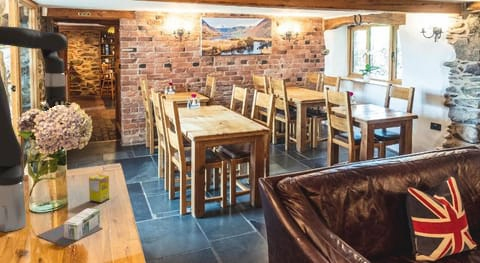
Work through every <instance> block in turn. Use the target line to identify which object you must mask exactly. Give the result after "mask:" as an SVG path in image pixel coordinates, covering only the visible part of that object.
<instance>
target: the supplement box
mask: <svg viewBox="0 0 480 263" xmlns="http://www.w3.org/2000/svg"><path fill="white" fill-rule="evenodd" d="M109 178H110V176H109V175H106V174H105V175H104V174H99V173H97V174H94V175H92V176H90V177H89V178H88V188H89V202H90V203H96V204H104V203H106V202H107V201H109V200H110V179H109Z"/></svg>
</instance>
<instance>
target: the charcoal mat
mask: <svg viewBox="0 0 480 263" xmlns="http://www.w3.org/2000/svg"><path fill="white" fill-rule="evenodd" d="M101 230H103V227H100V226H99V225H98V226H96V227H95V228H93V229H92V230H90V231H89V232H88V233H86V234H85V235H84V236H82V237H81V238H80V239H78V240H74V239H69V238H64V224H61V225H59V226H57V227H54V228H52V229H49V230H47V231H44V232H42V233H40V234H37V235H36V236H37V237H38V238H41V239H44V240H46V241H48V242H51V243H53V244H56V245H58V246H61V247H64V248H65V247H67V246H69V245H71V244H73V243H76V242H77V241H80V240H82V239H83V238H86V237H88V236H90V235H92V234H94V233H97V232H99V231H101Z"/></svg>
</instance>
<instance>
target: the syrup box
mask: <svg viewBox="0 0 480 263" xmlns="http://www.w3.org/2000/svg"><path fill="white" fill-rule="evenodd" d="M63 224H64V238H69V239H74V240H78V239H80V238H81V237H82V236H84V235H85V234H86V233H88V232H89V231H90V230H92V229H93V228H95V227H96V226H98V227H99V225H101V210H100V209H94V208H88V207H87V208H85V209H83V210H81V212H79V213H77V214H76V215H74V216H73V217H71V218H69V219H68V220H66V221H65V222H63ZM63 224H62V225H63ZM80 240H81V239H80ZM78 241H79V240H78Z"/></svg>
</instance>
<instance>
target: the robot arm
mask: <svg viewBox="0 0 480 263" xmlns="http://www.w3.org/2000/svg"><path fill="white" fill-rule="evenodd" d="M68 43H69V42H68V39H67V37H66V36H65V35H64V34H62V33H60V32H53V31H52V32H51V31H41V30H37V29H32V28H28V27H27V28H26V27H18V26H2V25H0V45H3V46H11V47H17V48H25V49H32V50H33V49H35V50H40V52H41V55H42V59H43V60H44V85H45V86H44V91H45V92H44V93H45V97H46V98H45V103H44V104H43V105H41V106H40V109H41V110H42V111H43V112H44V111H47V110H49V109H50V108H52V107H54V106H57V105H67V106H68V105H71V106H72V103H71V102H68V101H67V98H66V96H67V86H66V84H67V83H66V80H67V79H66V74H65V72H66V71H65V61H64V59H63V58H61V57H59V55H58V52H60V53H61V52H64V51H65V50H66V49H67V47H68ZM1 74H2V73H1V72H0V231H1V232H3V233H7V232H14V231H18V230H21V229H23V228H25V227H26V226H27V213H26V198H25V197H26V194H25V180H24V178H25V177H24V170H23V169H24V168H23V159H22V157H23V153H24V151H23V148H22V146H21V143H20V142H19V140H18V136H17V134H16V131H15V129H14V126H13V122H12V115H11V109H10V104H9V99H8V94H7V91H6V88H5V83H4V80H3V78H2V75H1Z"/></svg>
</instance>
